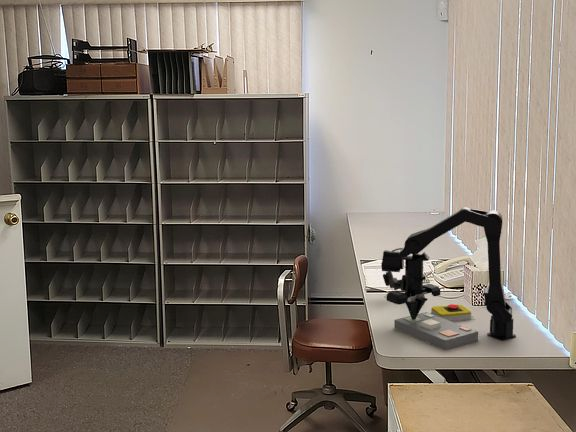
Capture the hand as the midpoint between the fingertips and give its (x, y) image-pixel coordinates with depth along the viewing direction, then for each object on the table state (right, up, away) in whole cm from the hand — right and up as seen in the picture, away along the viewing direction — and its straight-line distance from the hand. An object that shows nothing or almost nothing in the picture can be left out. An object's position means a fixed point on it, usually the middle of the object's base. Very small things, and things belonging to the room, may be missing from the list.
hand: (413, 319), depth 218 cm
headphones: (+2, +2, +33) cm, 33 cm away
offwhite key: (+4, -2, -7) cm, 8 cm away
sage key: (0, -2, 0) cm, 2 cm away
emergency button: (+15, -2, +12) cm, 19 cm away
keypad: (+6, -4, -5) cm, 9 cm away
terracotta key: (+8, -4, -13) cm, 16 cm away
